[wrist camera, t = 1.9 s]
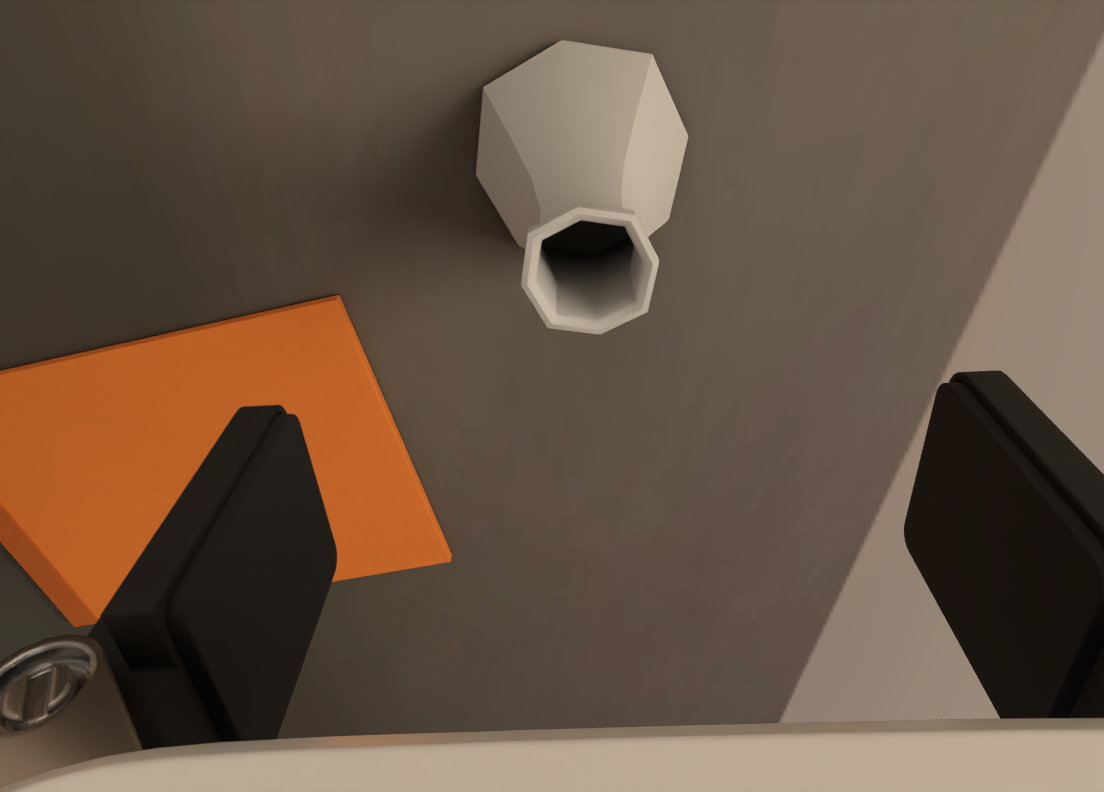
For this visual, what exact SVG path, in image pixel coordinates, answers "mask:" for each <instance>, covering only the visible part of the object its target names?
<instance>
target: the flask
mask: <svg viewBox="0 0 1104 792" xmlns="http://www.w3.org/2000/svg"><path fill="white" fill-rule="evenodd" d="M687 140H688V134H687V132H686V130H685V128H684V125H683V123H682V121H681V119H680V116H679V114H678V112H677V109H676V107H675V105H674V103H673V100H672V98H671V96H670V94H669V91H668V89H667V87H666V85H665V82H664V80H663V78H662V75H661V73H660V71H659V69H658V66H657V64H656V62H655V60H654V57H653V55H652V54H648V53H641V52H635V51H629V50H622V49H616V48H609V47H603V46H597V45H590V44H584V43H577V42H571V41H565V40H561V41H559V42H558V43H556V44H554V45H553V46H551V47H549V48H548V49H546V50H544V51H543V52H541V53H539V54H538V55H536V56H534V57H533V58H531V59H529V60H528V61H526V62H524V63H523V64H521V65H519V66H518V67H516V68H514V69H513V70H511V71H509V72H508V73H506V74H504V75H503V76H501V77H499V78H498V79H496V80H494V81H493V82H491V83H489V84H488V85H486V86H484V87H483V97H482V109H481V121H480V132H479V144H478V155H477V167H476V176H477V178H478V179H479V181H480V183H481V184H482V186H483V188H484V189H485V191H486V193H487V194H488V196H489V198H490V199H491V201H492V203H493V204H494V206H495V208H496V209H497V211H498V213H499V214H500V216H501V217H502V219H503V221H504V222H505V224H506V226H507V227H508V229H509V231H510V232H511V234H512V236H513V237H514V239H515V241H516V242H517V244H518V245H519V246H520V247H522V248H524V249H525V255H524V262H523V270H522V278H521V286H522V287H523V289H524V291H525V292H526V294H527V295H528V297H529V299H530V300H531V302H532V304H533V305H534V307H535V308H536V310H537V312H538V313H539V315H540V316H541V318H542V320H543V321H544V323H545V324H546V326H547V328H553V329H561V330H568V331H576V332H584V333H591V334H599V335H600V334H602V333H604V332H606V331H608V330H610V329H613V328H615V327H617V326H619V325H621V324H623V323H625V322H627V321H629V320H632V319H634V318H636V317H638V316H640V315H642V314H644V313H646V312H648V307H649V303H650V299H651V295H652V290H653V286H654V282H655V277H656V273H657V269H658V265H659V259H658V257H657V255H656V253H655V251H654V249H653V247H652V245H651V243H650V241H649V239H648V237H649V236H650V235H651V234H652V233H653V232H654V231H655V230H657V229H658V228H659V227H661V226H662V225H663V224H665V223H666V222H667V220H668V219H669V217H670V213H671V208H672V204H673V200H674V195H675V191H676V187H677V183H678V178H679V174H680V170H681V166H682V161H683V157H684V153H685V148H686V144H687Z"/></svg>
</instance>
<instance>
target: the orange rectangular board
mask: <svg viewBox="0 0 1104 792" xmlns="http://www.w3.org/2000/svg"><path fill="white" fill-rule="evenodd" d="M264 405H281V406H283V407H284V409H285V410H286V412H287V414H295V415H296V416H297V417H298V419H299V421H300V424H301V428H302V431H303V434H304V438H305V441H306V445H307V448H308V452H309V455H310V458H311V462H312V465H313V469H314V472H315V476H316V479H317V482H318V486H319V489H320V493H321V496H322V499H323V503H324V506H325V510H326V513H327V517H328V520H329V523H330V527H331V530H332V534H333V537H334V541H335V544H336V548H337V566H336V571H335V574H334V577H333V580H332V582H334V581H340V580H346V579H351V578H357V577H363V576H369V575H375V574H381V573H387V572H393V571H399V570H405V569H411V568H417V567H422V566H428V565H434V564H440V563H446V562H450V561H451V557H452V554H451V552H450V549H449V547H448V545H447V542H446V540H445V538H444V535H443V533H442V531H441V529H440V526H439V524H438V522H437V519H436V517H435V515H434V512H433V510H432V508H431V505H430V503H429V501H428V499H427V496H426V494H425V492H424V489H423V487H422V485H421V482H420V480H419V478H418V475H417V473H416V471H415V469H414V466H413V464H412V462H411V459H410V457H409V455H408V452H407V450H406V448H405V445H404V443H403V441H402V439H401V436H400V434H399V432H398V429H397V427H396V425H395V422H394V420H393V418H392V415H391V413H390V411H389V409H388V406H387V404H386V402H385V399H384V397H383V395H382V392H381V390H380V388H379V385H378V383H377V381H376V379H375V376H374V374H373V372H372V369H371V367H370V365H369V362H368V360H367V358H366V355H365V353H364V351H363V349H362V346H361V344H360V342H359V339H358V337H357V335H356V332H355V330H354V328H353V325H352V323H351V321H350V319H349V316H348V314H347V312H346V309H345V307H344V305H343V302H342V300H341V298H340V296H339V295H335V296H331V297H326V298H322V299H317V300H313V301H309V302H304V303H300V304H295V305H291V306H286V307H282V308H277V309H273V310H269V311H264V312H260V313H255V314H251V315H246V316H242V317H237V318H233V319H229V320H224V321H220V322H215V323H211V324H206V325H202V326H197V327H193V328H189V329H184V330H180V331H175V332H171V333H166V334H162V335H157V336H153V337H149V338H144V339H140V340H135V341H131V342H126V343H122V344H117V345H113V346H109V347H104V348H100V349H95V350H91V351H86V352H82V353H77V354H73V355H69V356H64V357H60V358H55V359H51V360H46V361H42V362H37V363H33V364H29V365H24V366H20V367H15V368H11V369H6V370H2V371H0V542H1V543H2V544H3V545H4V547H5V548H6V549H7V550H8V551H9V552H10V554H11V555H12V556H13V557H14V558H15V559H16V560H17V562H18V563H19V564H20V565H21V566H22V567H23V568H24V570H25V571H26V572H27V573H28V574H29V575H30V577H31V578H32V579H33V580H34V581H35V582H36V583H37V585H38V586H39V587H40V588H41V589H42V590H43V591H44V593H45V594H46V595H47V596H48V597H49V598H50V600H51V601H52V602H53V603H54V604H55V605H56V606H57V608H58V609H59V610H60V611H61V612H62V613H63V614H64V616H65V617H66V618H67V619H68V620H69V621H70V623H71V624H72V625H73V626H74V627H78V626H84V625H90V624H96V622H97V621H98V619H99V618H100V615H101V613H102V612H103V610H104V609H105V607H106V606H107V604H108V603H109V601H110V600H111V598H112V597H113V595H114V594H115V592H116V591H117V589H118V588H119V586H120V585H121V583H122V582H123V580H124V579H125V577H126V576H127V574H128V573H129V571H130V570H131V568H132V567H133V565H134V564H135V562H136V561H137V559H138V558H139V556H140V555H141V553H142V552H143V550H144V549H145V548H146V546H147V545H148V543H149V542H150V540H151V539H152V537H153V536H154V534H155V533H156V531H157V530H158V528H159V527H160V525H161V524H162V522H163V521H164V519H165V518H166V516H167V515H168V513H169V512H170V510H171V509H172V507H173V506H174V504H175V503H176V501H177V500H178V498H179V497H180V495H181V494H182V492H183V491H184V489H185V488H186V486H187V485H188V483H189V482H190V480H191V479H192V477H193V476H194V474H195V473H196V471H197V470H198V468H199V467H200V465H201V464H202V462H203V461H204V459H205V458H206V456H207V455H208V453H209V452H210V450H211V449H212V447H213V446H214V444H215V443H216V441H217V440H218V438H219V437H220V435H221V434H222V432H223V431H224V429H225V428H226V426H227V425H228V423H229V422H230V420H231V419H232V417H233V416H234V414H235V413H236V411H237V410H238V409H239V408H240V407H244V406H264Z"/></svg>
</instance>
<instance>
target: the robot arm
mask: <svg viewBox="0 0 1104 792" xmlns="http://www.w3.org/2000/svg"><path fill="white" fill-rule="evenodd" d="M904 537H905V542H906V546H907V548H908V551H909V552H910V554H911V556H912V558H913V560H914V561H915V563H916V565H917V567H918V569H919V571H920V573H921V574H922V576H923V578H924V580H925V582H926V584H927V585H928V587H929V589H930V591H931V593H932V594H933V596H934V598H935V600H936V602H937V604H938V605H939V607H940V609H941V611H942V613H943V614H944V616H945V618H946V620H947V622H948V624H949V625H950V627H951V629H952V631H953V633H954V635H955V637H956V638H957V640H958V642H959V644H960V645H961V647H962V649H963V651H964V653H965V655H966V657H967V658H968V660H969V662H970V664H971V665H972V668H973V669H974V671H975V673H976V675H977V677H978V679H979V680H980V682H981V684H982V686H983V688H984V689H985V691H986V693H987V695H988V697H989V699H990V700H991V702H992V704H993V706H994V708H995V710H996V711H997V713H998V715H999V717H1000V719H952V720H951V719H948V720H903V721H863V722H862V721H860V722H859V721H856V722H812V723H767V724H729V725H691V726H653V727H618V728H582V729H547V730H514V731H484V732H453V733H423V734H392V735H362V736H335V737H315V738H295V739H277V736H278V733H279V730H280V727H281V725H282V722H283V719H284V716H285V713H286V710H287V708H288V705H289V702H290V699H291V696H292V693H293V690H294V688H295V685H296V682H297V679H298V676H299V673H300V671H301V668H302V665H303V662H304V659H305V656H306V654H307V651H308V648H309V645H310V642H311V639H312V636H313V634H314V631H315V628H316V625H317V622H318V619H319V617H320V614H321V611H322V608H323V605H324V602H325V599H326V597H327V594H328V591H329V588H330V585H331V582H332V580H333V577H334V574H335V571H336V566H337V548H336V544H335V541H334V537H333V534H332V530H331V527H330V523H329V520H328V517H327V513H326V510H325V506H324V503H323V499H322V496H321V493H320V489H319V486H318V482H317V479H316V476H315V472H314V469H313V465H312V462H311V458H310V455H309V452H308V448H307V445H306V441H305V438H304V434H303V431H302V428H301V424H300V421H299V419H298V417H297V416H296V415H295V414H287V412H286V410H285V409H284V407H283V406H281V405H264V406H244V407H240V408H239V409H238V410H237V411H236V413H235V414H234V416H233V417H232V419H231V420H230V422H229V423H228V425H227V426H226V428H225V429H224V431H223V432H222V434H221V435H220V437H219V438H218V440H217V441H216V443H215V444H214V446H213V447H212V449H211V450H210V452H209V453H208V455H207V456H206V458H205V459H204V461H203V462H202V464H201V465H200V467H199V468H198V470H197V471H196V473H195V474H194V476H193V477H192V479H191V480H190V482H189V483H188V485H187V486H186V488H185V489H184V491H183V492H182V494H181V495H180V497H179V498H178V500H177V501H176V503H175V504H174V506H173V507H172V509H171V510H170V512H169V513H168V515H167V516H166V518H165V519H164V521H163V522H162V524H161V525H160V527H159V528H158V530H157V531H156V533H155V534H154V536H153V537H152V539H151V540H150V542H149V543H148V545H147V546H146V548H145V549H144V550H143V552H142V553H141V555H140V556H139V558H138V559H137V561H136V562H135V564H134V565H133V567H132V568H131V570H130V571H129V573H128V574H127V576H126V577H125V579H124V580H123V582H122V583H121V585H120V586H119V588H118V589H117V591H116V592H115V594H114V595H113V597H112V598H111V600H110V601H109V603H108V604H107V606H106V607H105V609H104V610H103V612H102V613H101V615H100V618H99V619H98V621H97V622H96V624H95V625H94V627H93V628H92V630H91V631H90V633H89V634H88V636H87V637H86V636H84V635H62V636H57V637H52V638H47V639H44V640H41V641H39V642H36V643H34V644H31V645H28V646H26V647H24V648H22V649H20V650H18V651H17V652H15V653H13V654H12V655H10V656H8V657H6V658H5V659H3V660H2V661H0V792H1104V474H1103V473H1102V472H1101V471H1100V470H1099V469H1098V468H1097V467H1096V466H1095V465H1094V464H1093V463H1092V462H1091V461H1090V460H1089V459H1088V458H1087V457H1086V456H1085V455H1084V454H1083V453H1082V452H1081V451H1080V450H1079V449H1078V448H1077V447H1076V446H1075V445H1074V444H1073V443H1072V442H1071V441H1070V439H1068V438H1067V436H1066V435H1065V434H1064V433H1063V432H1062V431H1061V430H1060V429H1059V428H1058V427H1057V426H1056V425H1055V424H1054V423H1053V422H1052V421H1051V420H1050V419H1049V418H1048V417H1047V416H1046V415H1045V414H1044V413H1043V412H1042V411H1041V410H1040V409H1039V408H1038V407H1037V406H1036V405H1035V404H1034V403H1033V402H1032V401H1031V400H1030V399H1029V397H1028V396H1026V394H1025V393H1024V392H1023V391H1022V390H1021V389H1020V388H1019V387H1018V386H1017V385H1016V384H1015V383H1014V382H1013V381H1012V380H1011V379H1010V378H1009V377H1008V376H1007V375H1006V374H1004V373H1003V372H1002V371H977V372H958V373H956V374H954V375H953V376H952V378H951V379H950V382H949V383H943V384H941V385H940V386H939V388H938V390H937V393H936V396H935V400H934V405H933V409H932V413H931V417H930V421H929V425H928V429H927V434H926V438H925V442H924V446H923V450H922V454H921V458H920V462H919V467H918V470H917V475H916V479H915V483H914V487H913V491H912V495H911V499H910V503H909V508H908V512H907V516H906V520H905V525H904Z"/></svg>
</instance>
